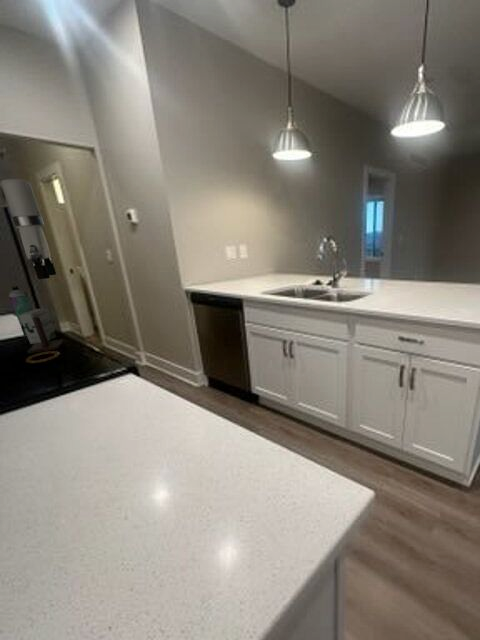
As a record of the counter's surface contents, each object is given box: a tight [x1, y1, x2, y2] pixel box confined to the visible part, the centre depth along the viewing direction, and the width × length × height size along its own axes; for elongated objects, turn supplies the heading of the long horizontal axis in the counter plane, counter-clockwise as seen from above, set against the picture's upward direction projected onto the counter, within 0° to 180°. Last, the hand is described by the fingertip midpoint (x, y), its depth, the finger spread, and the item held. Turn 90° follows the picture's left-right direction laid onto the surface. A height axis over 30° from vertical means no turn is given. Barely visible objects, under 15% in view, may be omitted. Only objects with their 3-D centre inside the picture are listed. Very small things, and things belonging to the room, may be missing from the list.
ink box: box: [19, 307, 58, 345], centre depth 131 cm, size 9×5×12 cm, turn 178°
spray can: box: [8, 285, 33, 337], centre depth 138 cm, size 6×6×20 cm
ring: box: [24, 350, 61, 364], centre depth 114 cm, size 9×9×1 cm
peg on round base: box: [26, 317, 65, 354], centre depth 122 cm, size 9×9×12 cm
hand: (47, 276), depth 117 cm, fingers open, 9 cm apart
